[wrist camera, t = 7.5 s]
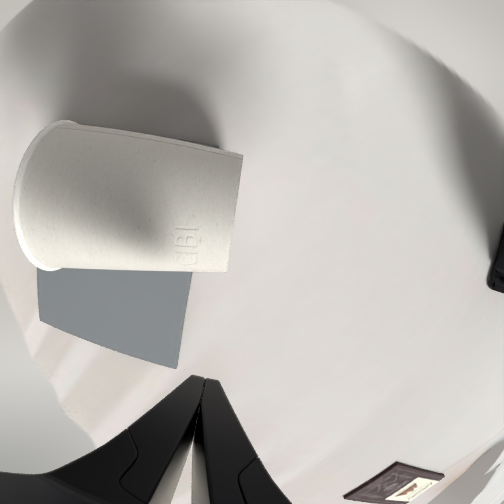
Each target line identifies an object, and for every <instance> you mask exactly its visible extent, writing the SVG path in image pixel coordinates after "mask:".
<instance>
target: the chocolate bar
mask: <svg viewBox="0 0 504 504" xmlns="http://www.w3.org/2000/svg"><path fill="white" fill-rule="evenodd" d="M443 477H445V476H444V474H440V473H435V472H431V471H427V470H423V469H419V468H415V467H412V466H408V465H405V464H401V463H398V462H396V463H394V464H393V465H392V466H390V467H389V468H387V469H386V470H385V471H383V472H382V473H380V474H379V475H377V476H376V477H374V478H373V479H371V480H370V481H368V482H367V483H365V484H363V485H362V486H360V487H358V488H357V489H355V490H353V491H352V492H350V493H348V494H346V495H345V496H343V497H344V499H347V500H354V501H361V502H369V503H378V504H406V503H408V502H410V501H411V500H413V499H414V498H416V497H417V496H419V495H420V494H422V493H423V492H424V491H426V490H427V489H429V488H430V487H431V486H433V485H434V484H436V483H437V482H438V481H440V480H441V479H442V478H443Z"/></svg>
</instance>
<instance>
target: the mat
mask: <svg viewBox="0 0 504 504" xmlns="http://www.w3.org/2000/svg"><path fill="white" fill-rule="evenodd" d="M166 138H167V137H166ZM171 139H173V138H171ZM176 140H179V139H176ZM181 141H185V140H181ZM186 142H190V143H195V144H199V145H204V146H208V147H213V148H217V149H219V147H218V146H213V145H208V144H202V143H197V142H191V141H186ZM191 277H192V272H184V271H139V270H106V269H79V268H61V269H58V270H55V271H45V270H42V269H40V268H38V267H37V285H38V304H39V317H40V321H42V322H44V323H47V324H49V325H51V326H53V327H56V328H58V329H60V330H62V331H65V332H67V333H70V334H72V335H74V336H77V337H79V338H82V339H84V340H87V341H90V342H92V343H95V344H98V345H100V346H103V347H106V348H109V349H111V350H114V351H117V352H120V353H123V354H126V355H129V356H132V357H136V358H139V359H142V360H145V361H149V362H152V363H155V364H159V365H162V366H166V367H170V368H173V369H176V368H177V365H178V358H179V351H180V344H181V337H182V331H183V324H184V318H185V312H186V306H187V300H188V294H189V289H190V283H191Z"/></svg>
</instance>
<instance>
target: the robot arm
mask: <svg viewBox="0 0 504 504" xmlns="http://www.w3.org/2000/svg"><path fill="white" fill-rule="evenodd" d="M488 287H489V288H490V289H492V290H495V291H498V292H501V293H504V228H503V233H502V237H501V242H500V246H499V249H498V253H497V257H496V261H495V264H494V267H493V271H492V274H491V277H490V280H489V284H488ZM204 382H205V383H204ZM203 387H204V388H203ZM202 392H203V393H202ZM201 397H202V398H201ZM200 402H201V403H200ZM199 407H200V408H199ZM198 412H199V413H198ZM197 417H198V418H197ZM196 422H197V423H196ZM195 427H196V428H195ZM194 432H195V433H194ZM193 437H194V439H193ZM192 441H193V450H192V504H292V503H291V502H290V501H289V499H288V498H287V497H286V496H285V495H284V494H283V492H282V491H281V490H280V489H279V487H278V486H277V485H276V483H275V482H274V481H273V479H272V478H271V476H270V475H269V473H268V472H267V470H266V469H265V467H264V465H263V463H262V462H261V460H260V458H258V455H257V453H256V451H255V450H254V448H253V446H252V444H251V442H250V441H249V439H248V437H247V435H246V433H245V431H244V429H243V427H242V426H241V424H240V422H239V420H238V418H237V416H236V414H235V412H234V410H233V408H232V406H231V404H230V402H229V400H228V398H227V396H226V394H225V392H224V390H223V388H222V386H221V384H220V382H219V381H218V380H214V379H209V378H206V379H205V378H204V377H200V376H196V375H191V376H190V377H189V378H187V379H186V380H185V381H184V382H183V383H182V384H180V385H179V386H178V387H177V388H176V389H174V390H173V391H172V392H171V393H170V394H169V395H167V396H166V397H165V398H164V399H162V400H161V401H160V402H159V403H158V404H156V405H155V406H154V407H153V408H152V409H150V410H149V411H148V412H147V413H145V414H144V415H143V416H142V417H140V418H139V419H138V420H137V421H135V422H134V423H133V424H132V425H130V426H129V427H128V428H127V429H125V430H124V431H122V432H121V433H120V434H119V435H117V436H116V437H114V438H113V439H112V440H110V441H109V442H107V443H106V444H104V445H103V446H101V447H99V448H97V449H96V450H94V451H92V452H91V453H88V454H86V455H85V456H82V457H81V458H79V459H77V460H75V461H72V462H70V463H69V464H66V465H64V466H62V467H60V468H58V469H56V470H53V471H50V472H47V473H43V474H19V473H8V472H0V504H170V503H171V500H172V498H173V495H174V492H175V489H176V487H177V484H178V481H179V478H180V476H181V473H182V470H183V467H184V464H185V462H186V459H187V456H188V453H189V450H190V448H191V444H192Z"/></svg>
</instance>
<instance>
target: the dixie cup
mask: <svg viewBox="0 0 504 504" xmlns="http://www.w3.org/2000/svg"><path fill="white" fill-rule="evenodd" d="M242 160H243V155H241V154H237V153H233V152H229V151H225V150H221V149H217V148H213V147H208V146H204V145H199V144H195V143H190V142H186V141H181V140H176V139H171V138H166V137H160V136H155V135H149V134H144V133H138V132H132V131H125V130H119V129H112V128H104V127H97V126H88V125H79V124H78V123H76V122H74V121H71V120H59V121H56V122H53V123H51V124H49V125H48V126H46V127H45V128H44V129H43V130H41V131H40V132H39V133H38V135H37V136H36V137H35V138H34V139H33V141H32V142H31V144H30V145H29V147H28V148H27V150H26V152H25V154H24V156H23V158H22V161H21V163H20V166H19V169H18V172H17V176H16V180H15V185H14V192H13V220H14V227H15V231H16V235H17V238H18V241H19V244H20V246H21V248H22V250H23V252H24V254H25V255H26V257H27V258H28V259H29V260H30V262H31V263H32V264H34V265H35V266H36V267H38V268H40V269H42V270H45V271H55V270H58V269H61V268H79V269H106V270H139V271H184V272H227V267H228V260H229V253H230V245H231V238H232V231H233V224H234V217H235V210H236V203H237V196H238V189H239V182H240V175H241V168H242Z"/></svg>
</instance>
